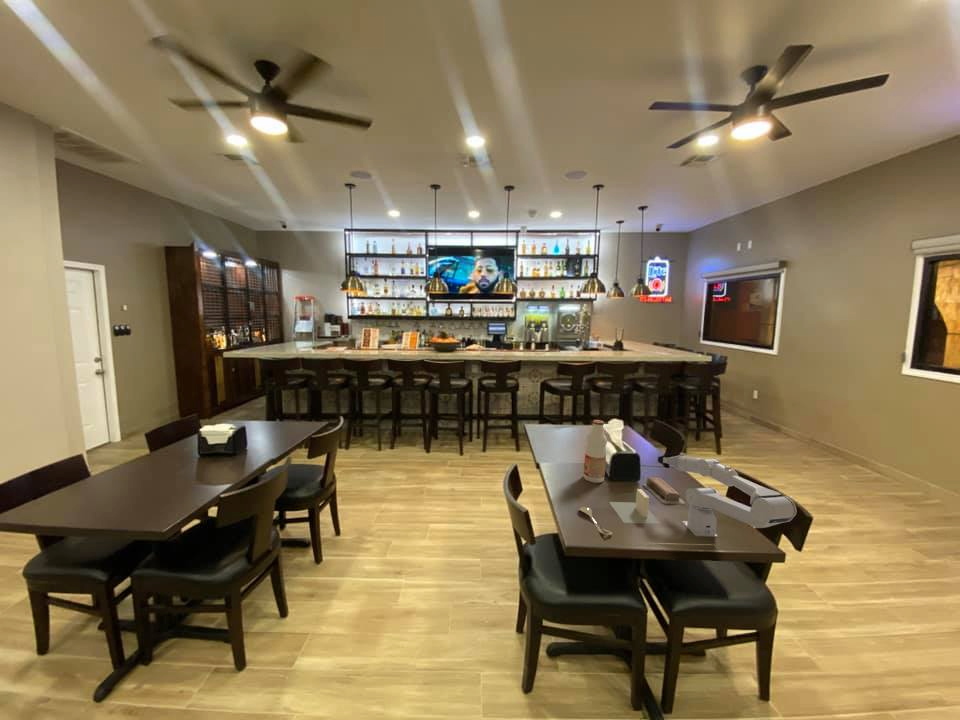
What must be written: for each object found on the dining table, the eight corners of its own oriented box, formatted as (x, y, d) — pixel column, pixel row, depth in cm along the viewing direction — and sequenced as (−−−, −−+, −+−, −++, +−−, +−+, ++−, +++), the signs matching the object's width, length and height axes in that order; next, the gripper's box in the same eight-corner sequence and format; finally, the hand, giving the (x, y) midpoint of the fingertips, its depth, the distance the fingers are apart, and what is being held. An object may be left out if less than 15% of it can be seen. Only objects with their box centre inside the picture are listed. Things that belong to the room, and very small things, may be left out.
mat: (660, 524, 147) (660, 523, 147) (623, 523, 147) (624, 522, 147) (642, 503, 163) (642, 502, 163) (608, 502, 163) (608, 501, 162)
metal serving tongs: (616, 527, 137) (604, 529, 136) (616, 537, 137) (604, 539, 136) (587, 503, 156) (576, 504, 155) (586, 512, 157) (576, 513, 155)
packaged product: (642, 476, 180) (663, 476, 181) (641, 486, 181) (662, 486, 182) (663, 494, 163) (686, 494, 163) (662, 505, 163) (685, 505, 164)
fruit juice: (596, 485, 179) (601, 425, 175) (579, 477, 186) (583, 420, 182) (608, 480, 185) (613, 422, 181) (590, 473, 192) (595, 417, 188)
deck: (647, 517, 151) (649, 497, 150) (642, 517, 151) (644, 497, 150) (639, 508, 158) (641, 489, 157) (635, 507, 158) (637, 489, 157)
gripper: (707, 456, 152) (682, 453, 165) (675, 450, 149) (652, 448, 162) (706, 475, 150) (681, 471, 164) (673, 469, 148) (650, 465, 161)
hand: (666, 460), depth 163 cm, fingers open, 7 cm apart
